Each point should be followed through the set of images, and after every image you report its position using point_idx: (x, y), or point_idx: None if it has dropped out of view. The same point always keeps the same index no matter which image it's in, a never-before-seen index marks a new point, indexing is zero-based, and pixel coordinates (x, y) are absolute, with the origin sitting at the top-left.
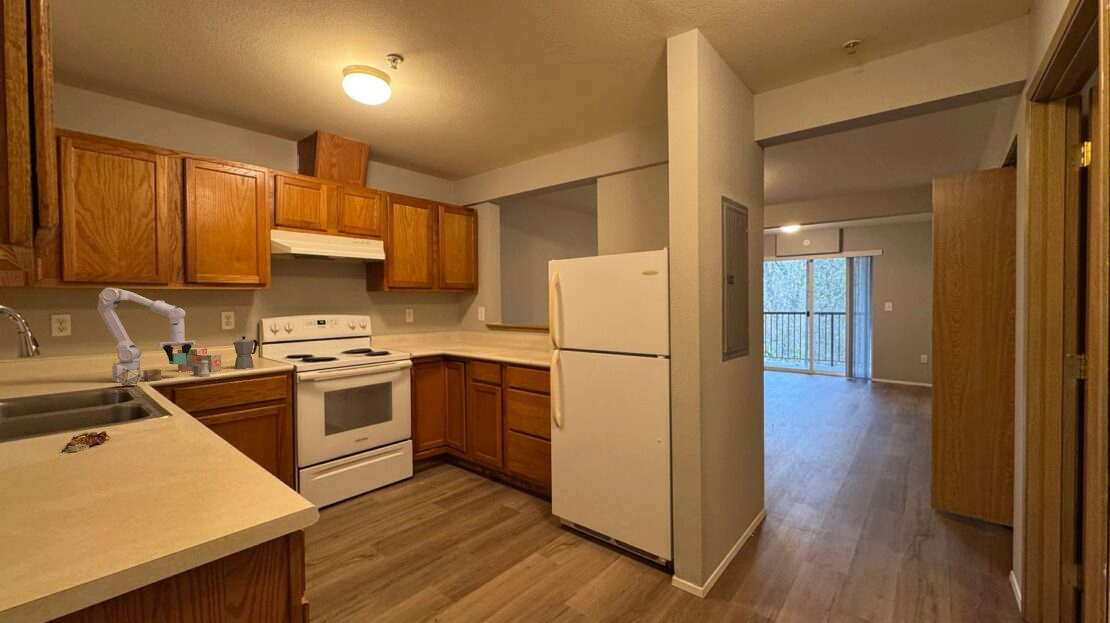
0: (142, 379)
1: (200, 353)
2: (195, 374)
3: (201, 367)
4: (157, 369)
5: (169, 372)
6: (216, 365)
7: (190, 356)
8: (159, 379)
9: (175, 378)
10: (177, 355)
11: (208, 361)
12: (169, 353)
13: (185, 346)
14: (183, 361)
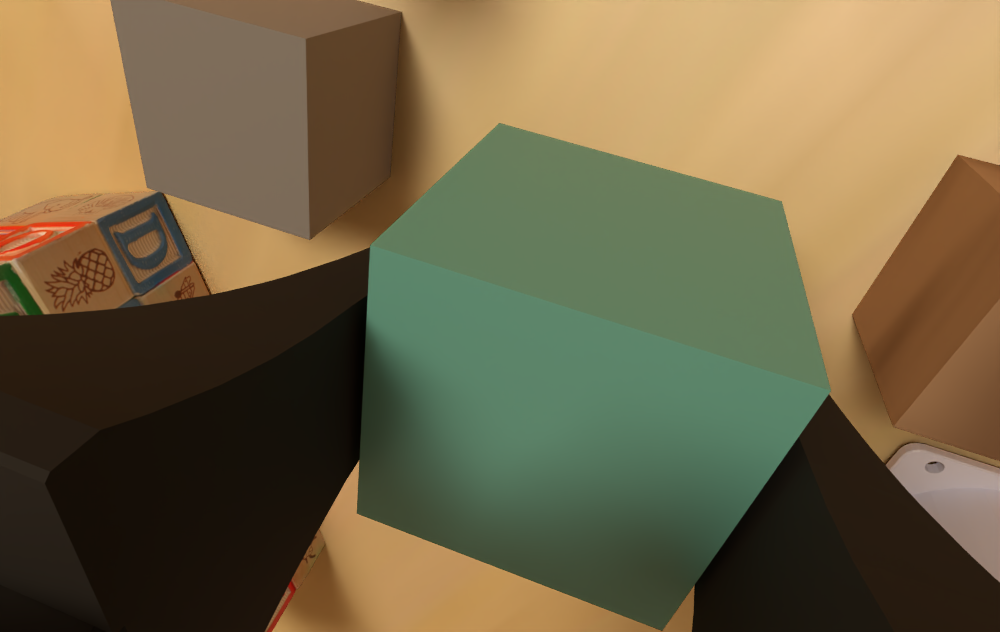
0: (932, 447)
1: None
2: (387, 117)
3: (268, 18)
4: (954, 374)
5: (386, 569)
6: (29, 227)
7: None
8: (994, 170)
9: (728, 106)
10: (681, 309)
11: (52, 303)
12: (936, 527)
13: (138, 529)
14: (543, 160)
